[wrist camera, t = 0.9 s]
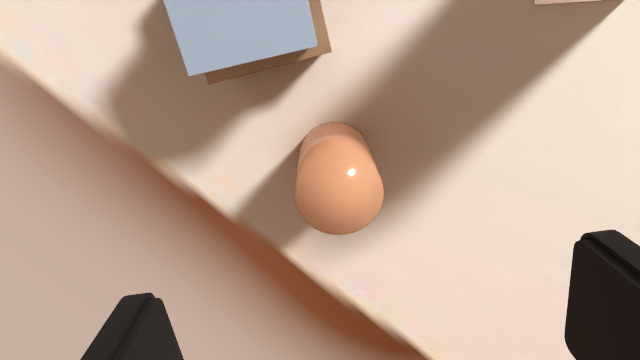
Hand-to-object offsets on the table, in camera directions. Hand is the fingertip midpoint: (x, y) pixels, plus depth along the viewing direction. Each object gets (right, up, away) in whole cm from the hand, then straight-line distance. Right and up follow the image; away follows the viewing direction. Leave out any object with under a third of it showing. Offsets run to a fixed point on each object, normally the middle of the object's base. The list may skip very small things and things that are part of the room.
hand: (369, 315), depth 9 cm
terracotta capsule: (0, +5, +20) cm, 21 cm away
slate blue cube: (-5, +12, +12) cm, 18 cm away
